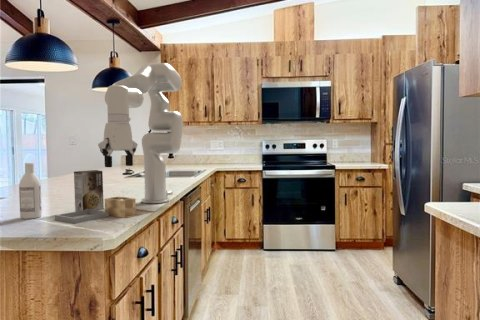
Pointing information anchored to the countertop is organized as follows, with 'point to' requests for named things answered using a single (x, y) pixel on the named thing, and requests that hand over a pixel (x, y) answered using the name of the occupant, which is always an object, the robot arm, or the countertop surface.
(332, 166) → the countertop surface
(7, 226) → the countertop surface
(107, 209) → the wooden block
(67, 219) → the tray
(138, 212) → the board
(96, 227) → the countertop surface
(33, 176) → the bath foam
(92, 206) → the coffee box
